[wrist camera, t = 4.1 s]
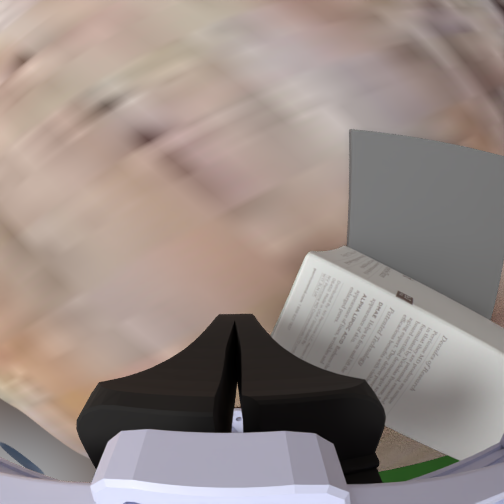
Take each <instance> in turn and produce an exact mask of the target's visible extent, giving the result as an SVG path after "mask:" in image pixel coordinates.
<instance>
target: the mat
mask: <svg viewBox="0 0 504 504" xmlns="http://www.w3.org/2000/svg"><path fill="white" fill-rule="evenodd" d="M349 151H350V163H349V210H348V232H347V247H349V248H351V249H353V250H356V251H358V252H360V253H362V254H364V255H366V256H368V257H370V258H372V259H374V260H376V261H378V262H380V263H382V264H384V265H386V266H388V267H390V268H392V269H394V270H396V271H398V272H400V273H402V274H404V275H406V276H408V277H410V278H412V279H414V280H416V281H418V282H420V283H422V284H424V285H426V286H427V287H429V288H431V289H433V290H435V291H437V292H439V293H441V294H443V295H445V296H446V297H448V298H450V299H452V300H454V301H456V302H458V303H459V304H461V305H463V306H465V307H467V308H469V309H470V310H472V311H474V312H476V313H478V314H480V315H481V316H483V317H485V318H487V319H489V320H491V316H492V312H493V309H494V305H495V300H496V296H497V292H498V287H499V282H500V277H501V272H502V266H503V261H504V156H501V155H497V154H493V153H489V152H485V151H481V150H477V149H472V148H468V147H463V146H459V145H454V144H449V143H444V142H439V141H433V140H428V139H422V138H416V137H410V136H403V135H396V134H389V133H381V132H373V131H364V130H354V129H351V130H349Z"/></svg>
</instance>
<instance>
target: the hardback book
mask: <svg viewBox="0 0 504 504" xmlns="http://www.w3.org/2000/svg"><path fill="white" fill-rule="evenodd" d="M456 462H459V460H457V459H455V458H453V457H450V456H448V455H447V456H444V457H440V458H437V459H433V460H430V461H426V462H422V463H418V464H414V465H410V466H406V467H401V468H396V469H392V470H386V471H381V472H378V473H379V475H380V477H381V480H382V482H383V483H390V482H402V481H407V480H411V479H414V478H417V477H420V476H423V475H425V474H428V473H431V472H434V471H436V470H439V469H442V468H444V467H447V466H449V465H452V464H454V463H456Z"/></svg>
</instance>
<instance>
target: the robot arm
mask: <svg viewBox="0 0 504 504" xmlns="http://www.w3.org/2000/svg"><path fill="white" fill-rule="evenodd" d="M237 382H238V390H239V397H240V404H241V408H234V405H235V397H236V388H237ZM237 417H241V418H237ZM385 421H386V415H385V410H384V407H383V406H382V404H381V402H380V400H379V399H378V397H377V395H376V394H375V392H374V391H373V389H372V388H371V387H370V385H369V384H368V383H367V381H366V380H365V379H360V378H355V377H350V376H345V375H340V374H337V373H334V372H331V371H327V370H324V369H322V368H319V367H317V366H314V365H312V364H310V363H308V362H306V361H304V360H302V359H300V358H298V357H297V356H295V355H293V354H292V353H290V352H289V351H287V350H286V349H285V348H283V347H282V346H281V345H279V344H278V343H277V342H276V341H275V340H274V339H273V338H272V337H271V336H270V335H269V334H268V333H267V332H266V331H265V330H264V328H263V327H262V326H261V325H260V323H259V322H258V321H257V319H256V318H255V316H254V315H253V314H219V315H218V316H217V317H216V318H215V319H214V320H213V322H212V323H211V324H210V325H209V326H208V328H207V329H206V330H205V331H204V332H203V333H202V334H201V335H200V336H199V337H198V338H197V339H196V340H195V341H194V342H192V343H191V344H190V345H189V346H188V347H187V348H185V349H184V350H182V351H181V352H180V353H178V354H176V355H175V356H173V357H172V358H170V359H168V360H166V361H164V362H162V363H160V364H158V365H156V366H154V367H152V368H150V369H147V370H145V371H142V372H139V373H136V374H133V375H130V376H126V377H123V378H118V379H113V380H109V381H104V382H99V383H98V385H97V386H96V388H95V389H94V391H93V392H92V393H91V395H90V397H89V399H88V401H87V402H86V404H85V406H84V408H83V410H82V412H81V413H80V415H79V417H78V419H77V428H76V429H77V432H78V435H79V438H80V440H81V442H82V444H83V446H84V448H85V450H86V452H87V454H88V455H89V457H90V459H91V461H92V463H93V465H94V466H95V468H96V471H95V474H94V476H93V479H92V481H91V483H90V482H89V483H88V482H69V481H60V480H57V479H54V478H51V477H48V476H45V475H42V474H40V473H37V472H34V471H32V470H29V469H27V468H24V467H22V466H19V465H17V464H14V463H12V462H10V461H8V460H5V459H3V458H1V457H0V504H504V434H503V436H502V438H501V440H500V442H499V443H497V444H495V445H493V446H491V447H489V448H487V449H485V450H483V451H481V452H479V453H477V454H475V455H472V456H470V457H468V458H466V459H463V460H461V461H459V462H456V463H454V464H452V465H449V466H447V467H444V468H442V469H439V470H436V471H434V472H431V473H428V474H425V475H423V476H420V477H417V478H414V479H411V480H407V481H402V482H390V483H383V482H382V480H381V477H380V475H379V473H378V470H377V467H378V466H379V460H378V458H377V455H376V453H375V451H376V448H377V446H378V443H379V440H380V438H381V435H382V432H383V429H384V426H385Z"/></svg>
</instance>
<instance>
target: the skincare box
mask: <svg viewBox="0 0 504 504" xmlns="http://www.w3.org/2000/svg"><path fill="white" fill-rule="evenodd" d="M271 337H272V338H273V339H274V340H275V341H276V342H277V343H278V344H279V345H281V346H282V347H283V348H285V349H286V350H287V351H289V352H290V353H292V354H293V355H295V356H297V357H298V358H300V359H302V360H304V361H306V362H308V363H310V364H312V365H314V366H317V367H319V368H322V369H324V370H327V371H331V372H334V373H337V374H340V375H345V376H350V377H355V378H360V379H365V380H366V381H367V383H368V384H369V385H370V387H371V388H372V389H373V391H374V392H375V394H376V395H377V397H378V399H379V400H380V402H381V404H382V406H383V407H384V410H385V415H386V421H385V426H387V427H389V428H391V429H393V430H395V431H397V432H399V433H401V434H403V435H405V436H407V437H409V438H411V439H413V440H415V441H417V442H419V443H422V444H424V445H426V446H428V447H430V448H432V449H434V450H437V451H439V452H441V453H443V454H446V455H448V456H450V457H453V458H455V459H457V460H459V461H461V460H463V459H466V458H468V457H470V456H472V455H475V454H477V453H479V452H481V451H483V450H485V449H487V448H489V447H491V446H493V445H495V444H497V443H499V442H500V440H501V438H502V436H503V434H504V328H503V327H501V326H499V325H497V324H496V323H494V322H492V321H490V320H489V319H487V318H485V317H483V316H481V315H480V314H478V313H476V312H474V311H472V310H470V309H469V308H467V307H465V306H463V305H461V304H459V303H458V302H456V301H454V300H452V299H450V298H448V297H446V296H445V295H443V294H441V293H439V292H437V291H435V290H433V289H431V288H429V287H427V286H426V285H424V284H422V283H420V282H418V281H416V280H414V279H412V278H410V277H408V276H406V275H404V274H402V273H400V272H398V271H396V270H394V269H392V268H390V267H388V266H386V265H384V264H382V263H380V262H378V261H376V260H374V259H372V258H370V257H368V256H366V255H364V254H362V253H360V252H358V251H356V250H353V249H351V248H349V247H347V246H345V245H344V246H342V247H339V248H338V249H334V250H329V251H320V252H316V251H310V252H309V253H308V254H307V255H306V257H305V258H304V261H303V263H302V265H301V268H300V270H299V272H298V274H297V277H296V279H295V281H294V284H293V286H292V289H291V291H290V294H289V296H288V298H287V300H286V303H285V305H284V307H283V310H282V312H281V314H280V316H279V318H278V321H277V323H276V325H275V327H274V329H273V332H272V334H271Z"/></svg>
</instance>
